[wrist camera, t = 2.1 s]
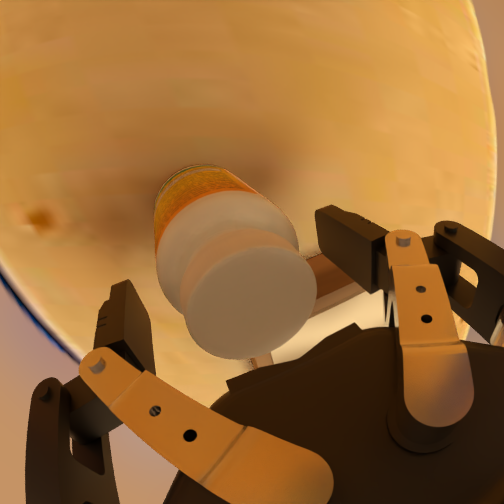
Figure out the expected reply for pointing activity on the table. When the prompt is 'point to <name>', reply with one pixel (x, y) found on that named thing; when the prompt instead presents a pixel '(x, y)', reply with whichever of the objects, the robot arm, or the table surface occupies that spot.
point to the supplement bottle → (230, 263)
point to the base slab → (329, 312)
